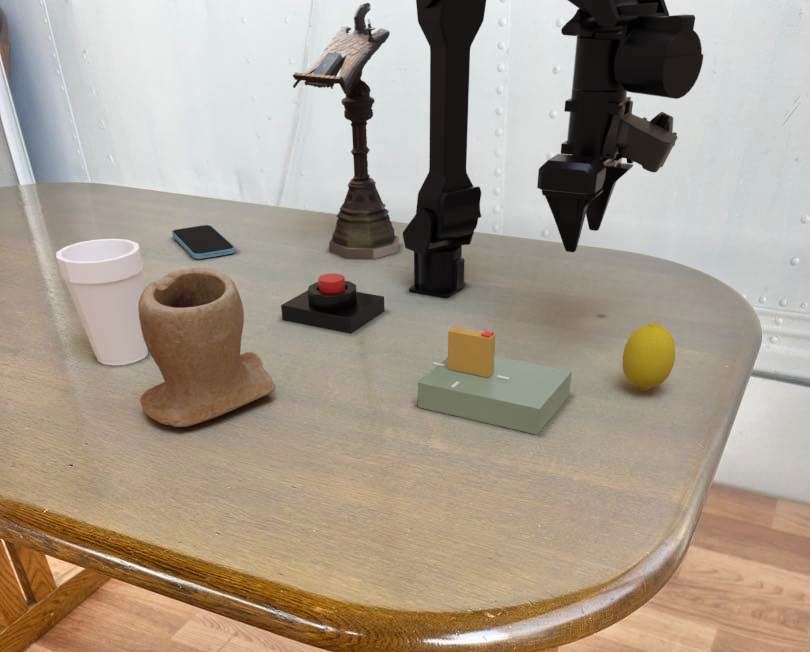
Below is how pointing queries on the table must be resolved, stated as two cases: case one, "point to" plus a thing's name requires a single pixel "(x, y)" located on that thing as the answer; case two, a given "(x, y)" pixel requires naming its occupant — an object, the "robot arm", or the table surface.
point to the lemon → (648, 356)
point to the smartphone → (203, 241)
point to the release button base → (333, 308)
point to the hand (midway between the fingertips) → (582, 240)
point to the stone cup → (198, 348)
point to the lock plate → (498, 394)
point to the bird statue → (355, 140)
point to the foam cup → (107, 296)
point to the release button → (331, 283)
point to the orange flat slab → (471, 351)
